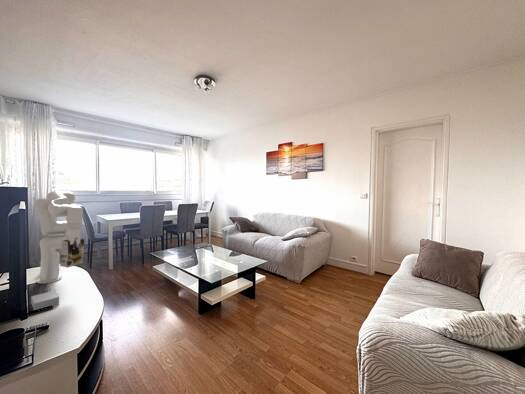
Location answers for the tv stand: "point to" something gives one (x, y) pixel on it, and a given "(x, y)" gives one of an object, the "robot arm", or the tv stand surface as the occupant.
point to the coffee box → (67, 256)
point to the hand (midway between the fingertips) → (72, 252)
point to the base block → (45, 300)
